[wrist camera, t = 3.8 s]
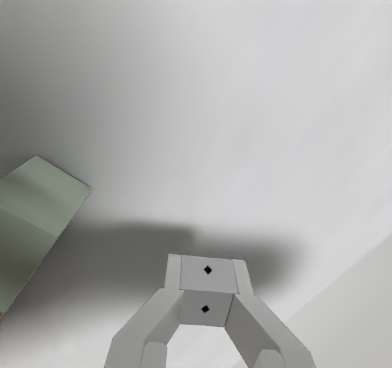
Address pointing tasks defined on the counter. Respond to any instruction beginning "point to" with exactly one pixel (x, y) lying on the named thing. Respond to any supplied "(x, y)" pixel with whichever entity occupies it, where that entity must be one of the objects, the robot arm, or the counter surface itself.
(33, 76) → the counter surface
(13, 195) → the tongs arm
